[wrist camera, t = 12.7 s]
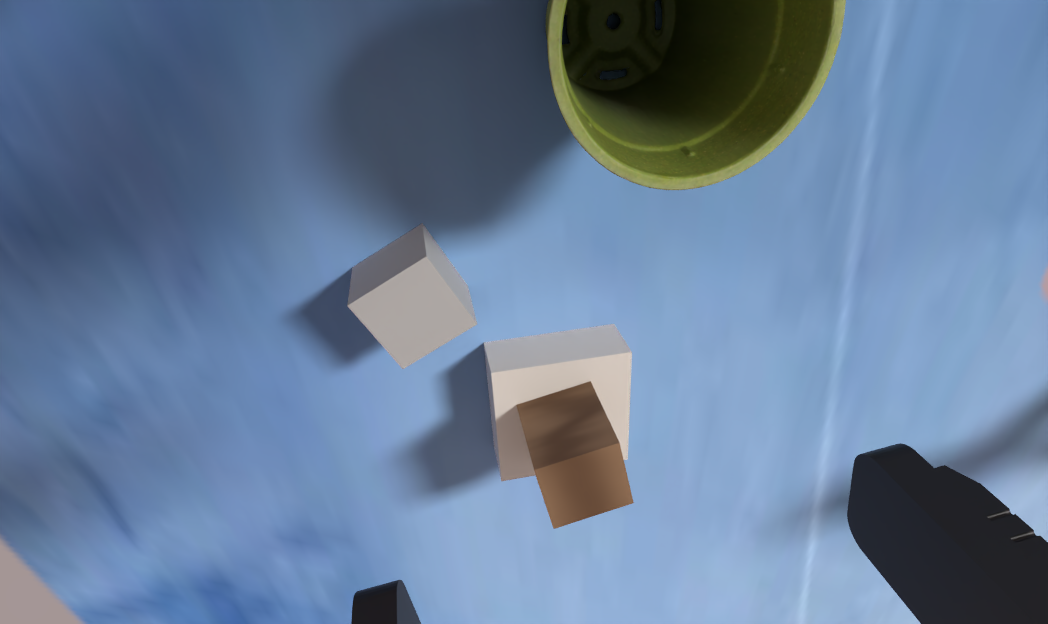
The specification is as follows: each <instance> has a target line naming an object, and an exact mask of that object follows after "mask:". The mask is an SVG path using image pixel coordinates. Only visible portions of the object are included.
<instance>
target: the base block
mask: <svg viewBox="0 0 1048 624" xmlns="http://www.w3.org/2000/svg"><path fill="white" fill-rule="evenodd" d="M484 351H485V361H486V371H487V381H488V392H489V402H490V412H491V422H492V432H493V442H494V449H495V454H496V458H497V463H498V468H499V472H500V477H501V481H506V480H511V479H517V478H523V477H529V476H534V475H536V474H535V471H534V468H533V464H532V461H531V457H530V453H529V450H528V446H527V443H526V439H525V435H524V432H523V428H522V424H521V421H520V417H519V414H518V410H517V406H516V405H517V404H520V403H524V402H527V401H530V400H533V399H536V398H539V397H542V396H546V395H549V394H552V393H555V392H558V391H561V390H565V389H568V388H571V387H574V386H577V385H580V384H583V383H587V382H590V381H591V383H592V385H593V387H594V389H595V392H596V394H597V396H598V398H599V400H600V402H601V404H602V406H603V409H604V411H605V413H606V415H607V417H608V419H609V421H610V423H611V425H612V428H613V430H614V432H615V434H616V436H617V438H618V440H619V442H620V447H621V451H622V455H623V460H627V459H628V436H629V410H630V384H631V358H632V352H631V350H630V348H629V347H628V345H627V344H626V342H625V340H624V339H623V337H622V336H621V334H620V333H619V331H618V329H617V328H616V326H615V325H614V324H610V325H603V326H596V327H589V328H582V329H575V330H568V331H561V332H554V333H547V334H540V335H533V336H526V337H519V338H512V339H505V340H498V341H491V342H484Z"/></svg>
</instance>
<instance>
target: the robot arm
mask: <svg viewBox="0 0 1048 624" xmlns="http://www.w3.org/2000/svg"><path fill="white" fill-rule="evenodd" d="M847 517H848V523H849V527H850V530H851V532H852V535H853V537H854V539H855V541H856V543H857V544H858V546H859V547H860V549H861V550H862V551H863V553H864V554H865V555H866V556H867V558H868V559H869V560H870V561H871V562H872V564H873V565H874V566H875V567H876V569H877V570H878V571H879V572H880V574H881V575H882V576H883V577H884V578H885V580H886V581H887V582H888V583H889V585H890V586H891V587H892V588H893V590H894V591H895V592H896V593H897V595H898V596H899V597H900V598H901V599H902V601H903V602H904V603H905V604H906V606H907V607H908V608H909V609H910V611H911V612H912V613H913V614H914V615H915V617H916V618H917V619H918V620H919V622H920V623H921V624H1048V542H1047V541H1045V540H1044V539H1043V538H1042V537H1041V536H1036V535H1035V534H1034V530H1033V529H1032V528H1031V527H1029V526H1028V525H1027V524H1026V523H1025V522H1024V521H1023V520H1021V519H1020V518H1019V517H1018V516H1017V515H1016V514H1014V515H1012V514H1011V513H1010V510H1009V508H1008V507H1006V506H1005V505H1004V504H1003V503H1002V502H1001V501H1000V500H998V499H997V498H996V497H995V496H994V495H993V494H992V493H990V492H989V491H988V490H987V489H986V488H985V487H984V486H982V485H981V484H980V483H978V482H976V481H974V480H972V479H970V478H968V477H966V476H964V475H962V474H960V473H958V472H956V471H954V470H953V469H951V468H949V467H947V466H945V465H944V466H941V467H937V468H933V467H932V466H931V465H930V464H929V463H928V462H927V461H926V460H925V459H924V458H923V457H921V456H920V455H919V454H918V453H917V452H916V451H915V450H914V449H912V448H911V447H909V446H907V445H905V444H895V445H892V446H888V447H885V448H881V449H877V450H874V451H870V452H867V453H863V454H860V455H858V456H857V457H856V458H855V461H854V466H853V474H852V481H851V489H850V496H849V504H848V512H847ZM352 624H421V622H420V620H419V618H418V615H417V613H416V611H415V608H414V606H413V604H412V601H411V599H410V597H409V594H408V592H407V590H406V587H405V585H404V583H403V581H402V580H397V581H393V582H390V583H386V584H382V585H379V586H375V587H371V588H368V589H364V590H361V591H357V592H356V593H355V595H354V599H353V607H352Z"/></svg>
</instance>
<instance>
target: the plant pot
mask: <svg viewBox="0 0 1048 624" xmlns="http://www.w3.org/2000/svg"><path fill="white" fill-rule="evenodd" d="M656 1H657V0H549V1H548V5H547V11H546V36H547V48H548V63H549V70H550V76H551V82H552V86H553V90H554V94H555V97H556V100H557V103H558V105H559V108H560V111H561V113H562V115H563V117H564V120H565V122H566V124H567V125H568V127H569V129H570V131H571V132H572V134H573V135H574V137H575V138H576V140H577V141H578V142H579V144H580V145H581V146H582V147H583V148H584V149H585V151H586V152H588V153H589V154H590V155H591V156H592V157H593V158H594V159H595V160H596V161H597V162H598V163H599V164H601V165H602V166H604V167H605V168H606V169H608V170H609V171H610V172H612V173H614V174H616V175H617V176H619V177H622V178H624V179H626V180H628V181H631V182H633V183H636V184H639V185H642V186H646V187H649V188H655V189H663V190H685V189H693V188H700V187H704V186H708V185H712V184H715V183H718V182H720V181H723V180H726V179H728V178H730V177H733V176H735V175H737V174H739V173H741V172H743V171H744V170H746V169H748V168H750V167H751V166H753V165H754V164H756V163H757V162H759V161H760V160H761V159H763V158H764V157H766V156H767V155H768V154H769V153H770V152H772V151H773V150H774V149H775V148H776V147H777V146H778V145H780V144H781V143H782V142H783V141H784V140H785V139H786V138H787V137H788V136H789V134H790V133H791V132H792V131H793V130H794V129H795V127H796V126H797V125H798V124H799V122H800V121H801V120H802V119H803V117H804V116H805V115H806V113H807V112H808V110H809V109H810V107H811V106H812V104H813V103H814V101H815V100H816V98H817V96H818V95H819V93H820V91H821V89H822V87H823V85H824V83H825V81H826V78H827V76H828V74H829V71H830V69H831V66H832V64H833V61H834V58H835V54H836V51H837V48H838V45H839V42H840V37H841V33H842V26H843V19H844V12H845V3H846V0H661V8H662V15H663V16H662V20H663V21H662V27H661V29H660V30H656V29H655V22H656V19H655V15H656V12H655V4H654V3H655V2H656ZM564 14H565V15H567V35H568V39H569V41H570V43H569V44H562V29H563V20H564ZM612 14H616V15H618V16H619V18H620V25H619V26H618V27H617V28H616V29H610V28H609V27H608V26H607V19H608V17H609V16H610V15H612ZM628 67H629V68H628ZM625 68H627V69H626V70H627V74H626V76H624V77H620V78H617V79H611V80H606V79H604V80H602V79H600V74H601V72H602V71H613V70H623V69H625ZM585 73H586V74H585ZM584 74H585V75H584ZM580 78H581V79H580Z"/></svg>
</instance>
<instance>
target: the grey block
mask: <svg viewBox="0 0 1048 624" xmlns="http://www.w3.org/2000/svg"><path fill="white" fill-rule="evenodd" d="M347 306H348V307H349V308H350V309H351V311H352V312H353V313H354V314H355V315H356V316H357V317H358V319H359V320H360V321H361V322H362V323H363V324H364V325H365V327H366V328H367V329H368V330H369V331H370V332H371V333H372V334H373V336H374V337H375V338H376V339H377V340H378V341H379V342H380V344H381V345H382V346H383V347H384V348H385V349H386V350H387V352H388V353H389V354H390V355H391V356H392V357H393V358H394V360H395V361H396V362H397V363H398V364H399V365H400V366H401V368H402V369H404V368H406V367H407V366H409V365H411V364H412V363H414V362H416V361H417V360H419V359H420V358H422V357H424V356H425V355H427V354H429V353H430V352H432V351H434V350H435V349H437V348H439V347H440V346H442V345H444V344H445V343H447V342H449V341H450V340H452V339H453V338H455V337H457V336H458V335H460V334H462V333H463V332H465V331H467V330H468V329H470V328H472V327H473V326H475V325H477V321H476V317H475V313H474V309H473V305H472V301H471V297H470V293H469V289H468V285H467V284H466V283H465V281H464V280H463V278H462V277H461V276H460V274H459V273H458V272H457V270H456V269H455V267H454V266H453V265H452V263H451V262H450V261H449V259H448V258H447V256H446V255H445V254H444V252H443V251H442V250H441V248H440V247H439V245H438V244H437V243H436V241H435V240H434V239H433V237H432V236H431V234H430V233H429V232H428V230H427V229H426V227H425V226H424V225H423V223H422V224H420V225H419V226H417V227H415V228H414V229H412V230H411V231H409V232H408V233H406V234H404V235H403V236H401V237H400V238H398V239H396V240H395V241H393V242H392V243H390V244H389V245H387V246H385V247H384V248H382V249H381V250H379V251H377V252H376V253H374V254H373V255H371V256H370V257H368V258H366V259H365V260H363V261H362V262H360V263H358V264H357V265H355V266H354V267H352V273H351V281H350V289H349V297H348V305H347Z"/></svg>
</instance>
